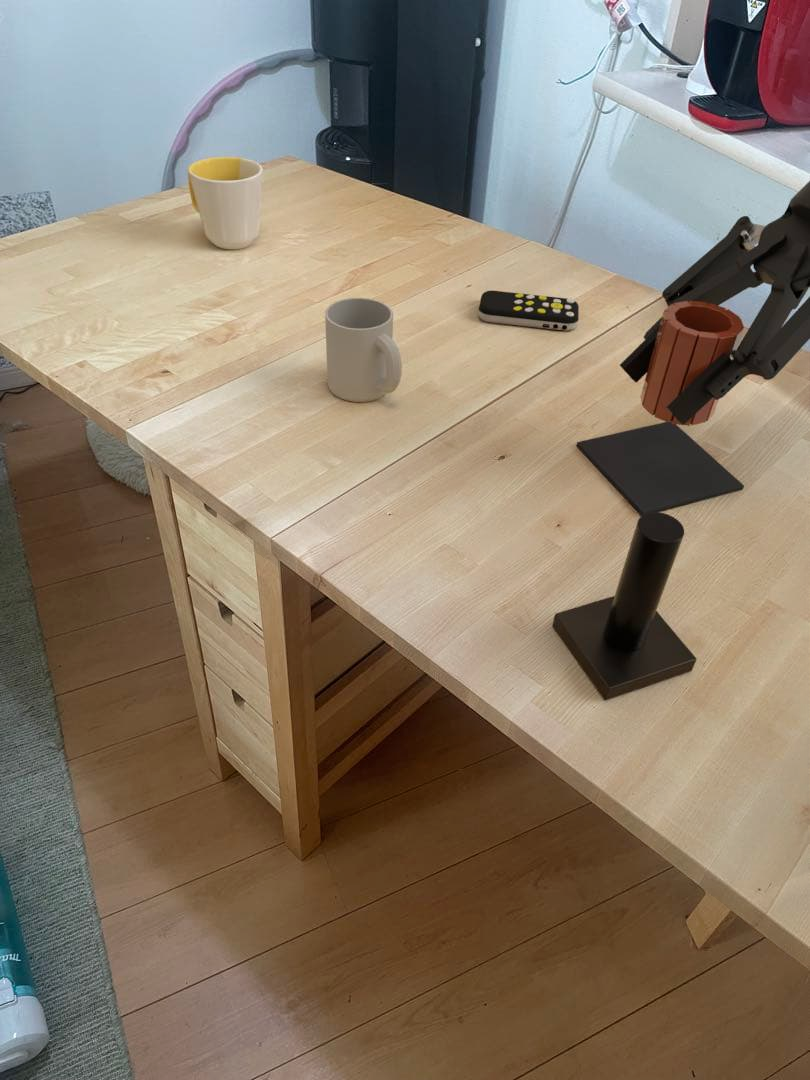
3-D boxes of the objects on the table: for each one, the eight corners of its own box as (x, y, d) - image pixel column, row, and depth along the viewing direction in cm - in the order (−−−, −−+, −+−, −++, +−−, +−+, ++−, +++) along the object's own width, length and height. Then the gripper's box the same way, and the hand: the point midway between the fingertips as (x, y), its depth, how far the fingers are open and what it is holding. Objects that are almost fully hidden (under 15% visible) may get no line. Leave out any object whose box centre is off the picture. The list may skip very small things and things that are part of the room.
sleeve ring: (728, 417, 76) (760, 330, 70) (668, 431, 74) (695, 343, 68) (684, 380, 81) (710, 296, 75) (627, 392, 79) (649, 307, 73)
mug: (280, 247, 119) (275, 172, 112) (216, 262, 114) (206, 185, 107) (239, 216, 127) (231, 144, 120) (177, 228, 122) (165, 155, 115)
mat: (743, 489, 80) (744, 485, 80) (641, 516, 77) (643, 512, 77) (670, 424, 89) (671, 420, 88) (576, 445, 85) (576, 442, 85)
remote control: (481, 300, 108) (482, 286, 107) (577, 311, 107) (579, 297, 106) (476, 322, 104) (478, 308, 103) (576, 333, 103) (579, 319, 101)
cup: (361, 362, 96) (362, 291, 90) (421, 398, 91) (425, 325, 84) (314, 383, 92) (310, 311, 86) (373, 422, 87) (374, 347, 81)
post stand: (692, 671, 63) (745, 550, 55) (605, 700, 61) (646, 579, 52) (633, 600, 69) (673, 480, 60) (551, 625, 66) (580, 504, 57)
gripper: (958, 271, 65) (733, 473, 71) (788, 185, 78) (610, 362, 85) (943, 212, 60) (701, 435, 66) (763, 131, 73) (575, 323, 79)
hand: (650, 394), depth 75 cm, fingers closed on sleeve ring, 7 cm apart
